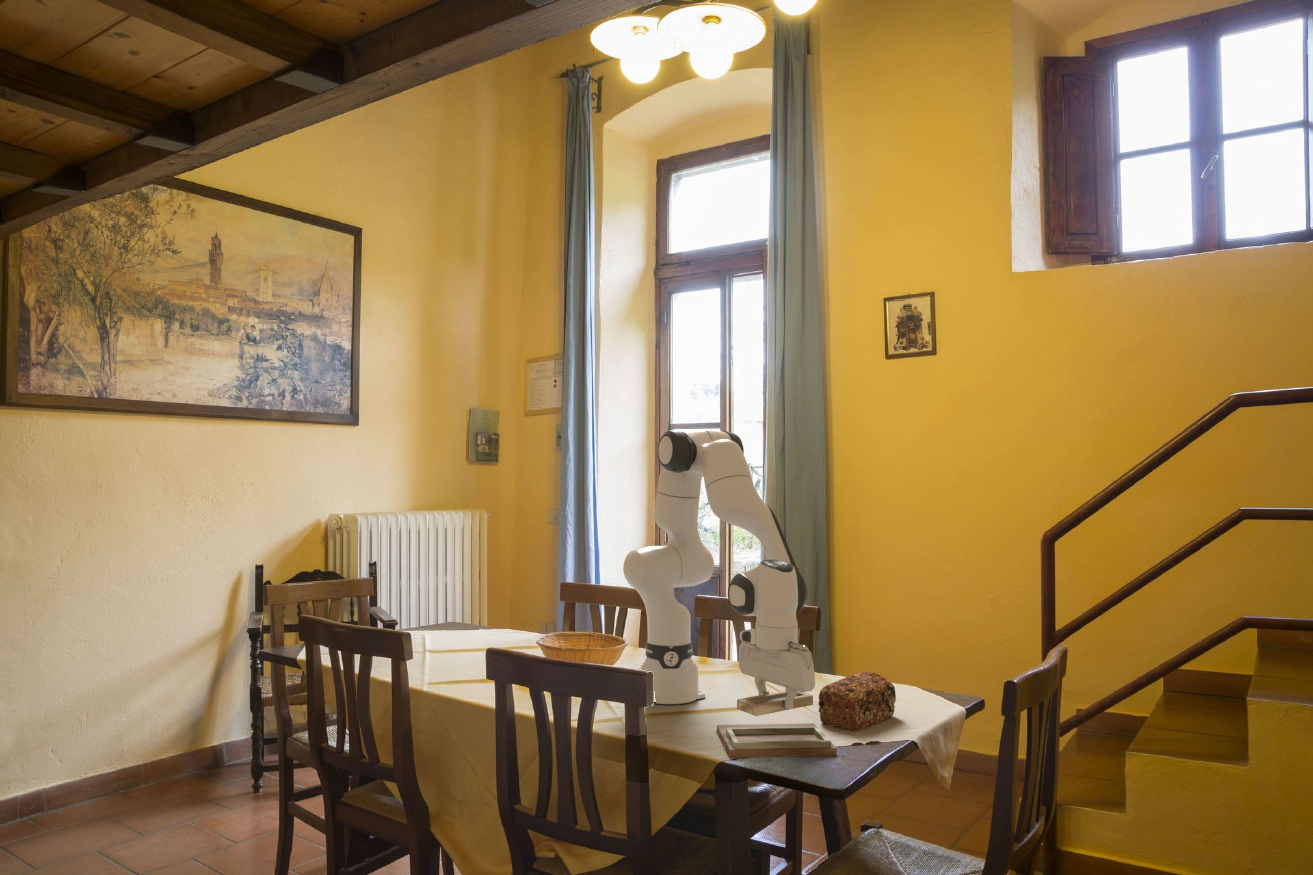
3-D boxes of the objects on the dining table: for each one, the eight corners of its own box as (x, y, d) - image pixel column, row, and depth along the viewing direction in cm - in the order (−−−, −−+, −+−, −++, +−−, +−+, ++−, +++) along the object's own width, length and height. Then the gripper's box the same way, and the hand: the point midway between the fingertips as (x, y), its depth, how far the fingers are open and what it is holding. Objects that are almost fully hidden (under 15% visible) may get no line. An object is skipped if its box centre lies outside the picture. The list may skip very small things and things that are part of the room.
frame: (736, 709, 182) (737, 699, 182) (793, 698, 191) (793, 689, 191) (755, 716, 177) (756, 706, 177) (812, 704, 186) (813, 695, 186)
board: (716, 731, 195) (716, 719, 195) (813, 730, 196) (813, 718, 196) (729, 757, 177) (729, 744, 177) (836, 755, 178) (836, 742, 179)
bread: (859, 709, 215) (859, 668, 216) (898, 717, 208) (898, 675, 208) (816, 724, 202) (816, 680, 202) (856, 733, 195) (856, 688, 195)
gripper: (822, 645, 178) (821, 714, 178) (756, 628, 195) (755, 691, 194) (799, 648, 174) (798, 718, 174) (734, 631, 191) (733, 695, 191)
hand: (775, 704), depth 184 cm, fingers closed on frame, 6 cm apart
